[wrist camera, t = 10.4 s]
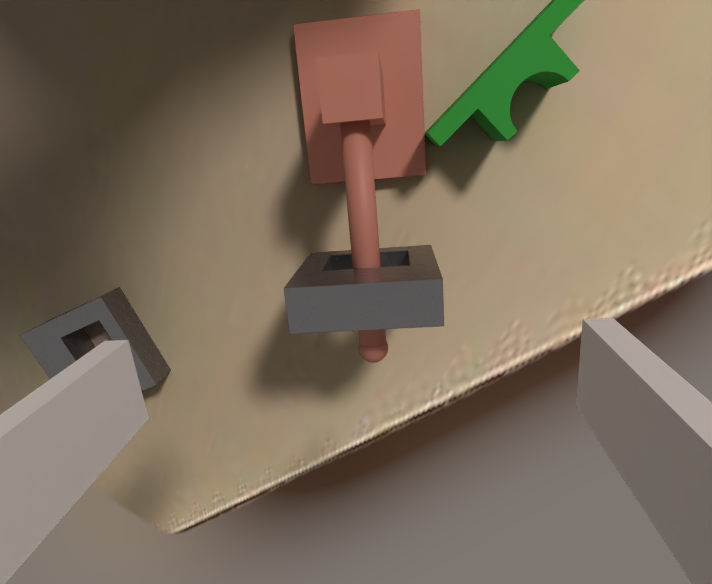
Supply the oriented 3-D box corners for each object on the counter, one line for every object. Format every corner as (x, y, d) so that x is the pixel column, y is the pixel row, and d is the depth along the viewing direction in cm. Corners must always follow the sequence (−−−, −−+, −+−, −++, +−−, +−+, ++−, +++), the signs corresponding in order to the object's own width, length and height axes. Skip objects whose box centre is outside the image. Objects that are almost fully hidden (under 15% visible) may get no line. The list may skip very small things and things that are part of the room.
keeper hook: (296, 27, 31) (254, -20, 22) (419, 13, 30) (428, -42, 21) (328, 317, 37) (306, 374, 28) (430, 312, 36) (442, 369, 27)
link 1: (42, 323, 39) (19, 335, 37) (119, 287, 38) (100, 297, 35) (95, 401, 41) (77, 417, 39) (170, 370, 39) (156, 384, 37)
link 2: (310, 252, 31) (283, 288, 24) (430, 244, 31) (442, 278, 23) (314, 288, 32) (289, 333, 25) (432, 281, 31) (444, 326, 24)
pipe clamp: (460, 172, 33) (469, 178, 29) (423, 134, 32) (426, 133, 28) (593, 42, 30) (625, 26, 25) (554, -3, 29) (581, -28, 25)
